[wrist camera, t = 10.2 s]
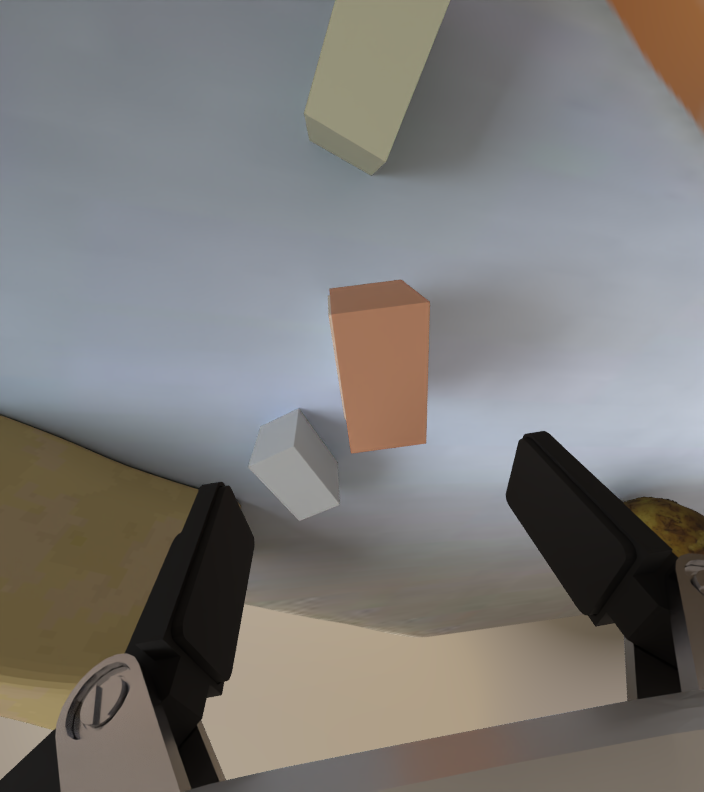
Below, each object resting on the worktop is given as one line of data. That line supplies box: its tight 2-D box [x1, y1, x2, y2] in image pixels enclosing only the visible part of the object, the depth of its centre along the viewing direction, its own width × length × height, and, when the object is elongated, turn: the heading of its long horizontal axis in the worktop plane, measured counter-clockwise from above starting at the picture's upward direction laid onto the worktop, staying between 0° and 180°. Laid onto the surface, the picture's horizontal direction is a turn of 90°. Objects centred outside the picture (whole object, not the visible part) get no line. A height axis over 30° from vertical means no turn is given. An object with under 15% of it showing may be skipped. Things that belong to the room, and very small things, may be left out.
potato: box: [623, 497, 704, 558], centre depth 32 cm, size 8×13×8 cm, turn 142°
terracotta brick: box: [330, 280, 430, 453], centre depth 15 cm, size 7×4×5 cm, turn 6°
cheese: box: [0, 415, 241, 730], centre depth 21 cm, size 22×10×15 cm, turn 45°
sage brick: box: [304, 0, 450, 176], centre depth 13 cm, size 7×4×5 cm, turn 156°
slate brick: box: [248, 408, 340, 521], centre depth 25 cm, size 7×4×5 cm, turn 26°
